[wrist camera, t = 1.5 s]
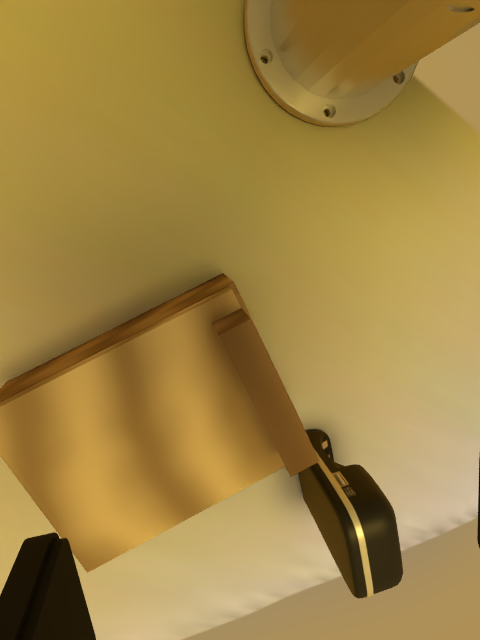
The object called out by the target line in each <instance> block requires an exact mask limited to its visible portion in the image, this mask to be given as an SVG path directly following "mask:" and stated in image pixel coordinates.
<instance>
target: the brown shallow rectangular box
mask: <svg viewBox="0 0 480 640" xmlns="http://www.w3.org/2000/svg"><path fill="white" fill-rule="evenodd" d="M227 287H230V288H231V289H232V290H233V292H234V294H235V296H236V298H237V300H238V302H239V305H240V307H241V308H242V309H243V311H244V312H245V313H246V314H247V315H248V316H249V317H250V315H249V313H248V311H247V309H246V307H245V305H244V303H243V300H242V298H241V296H240V294H239V292H238V290H237V288H236V286H235V284H234V282H233V281H231V280H230V279H229V278H228V277H227V276H226V275H224V274H221V275H219V276H217V277H215V278H213V279H211V280H209V281H207V282H205V283H203V284H201V285H199V286H197V287H195V288H193V289H191V290H189V291H187V292H185V293H183V294H181V295H179V296H177V297H175V298H173V299H171V300H169V301H167V302H165V303H163V304H161V305H159V306H157V307H155V308H153V309H151V310H149V311H147V312H145V313H143V314H141V315H139V316H137V317H136V318H134V319H132V320H130V321H128V322H126V323H124V324H122V325H120V326H118V327H116V328H114V329H112V330H110V331H108V332H106V333H104V334H102V335H100V336H98V337H96V338H94V339H92V340H90V341H88V342H86V343H84V344H82V345H80V346H78V347H76V348H74V349H72V350H70V351H68V352H66V353H64V354H62V355H60V356H58V357H56V358H54V359H52V360H50V361H48V362H46V363H44V364H42V365H40V366H38V367H36V368H34V369H32V370H30V371H28V372H26V373H24V374H22V375H20V376H18V377H16V378H14V379H12V380H10V381H8V382H7V383H5V384H4V385H3V386H2V388H1V389H0V402H1V401H3V400H5V399H7V398H9V397H11V396H13V395H15V394H17V393H19V392H21V391H23V390H25V389H27V388H29V387H31V386H33V385H35V384H37V383H39V382H41V381H43V380H45V379H47V378H49V377H51V376H53V375H55V374H57V373H59V372H61V371H63V370H65V369H67V368H69V367H71V366H73V365H75V364H76V363H78V362H80V361H82V360H84V359H86V358H88V357H90V356H92V355H94V354H96V353H98V352H100V351H102V350H104V349H106V348H108V347H110V346H112V345H114V344H116V343H118V342H120V341H122V340H124V339H126V338H128V337H130V336H132V335H134V334H136V333H138V332H140V331H142V330H144V329H146V328H148V327H150V326H152V325H154V324H156V323H157V322H159V321H161V320H163V319H165V318H167V317H169V316H171V315H173V314H175V313H177V312H179V311H181V310H183V309H185V308H187V307H189V306H191V305H193V304H195V303H197V302H199V301H201V300H203V299H205V298H207V297H209V296H211V295H213V294H215V293H217V292H219V291H221V290H223V289H225V288H227ZM250 318H251V317H250ZM251 320H252V319H251ZM252 322H253V321H252ZM253 324H254V323H253ZM254 326H255V325H254ZM255 328H256V327H255ZM256 330H257V329H256ZM260 339H261V338H260ZM261 341H262V340H261ZM262 343H263V342H262ZM263 345H264V344H263ZM264 347H265V346H264ZM265 349H266V348H265ZM266 351H267V350H266ZM267 353H268V352H267ZM268 355H269V354H268ZM269 357H270V356H269ZM270 359H271V358H270ZM274 368H275V367H274ZM275 370H276V369H275ZM276 372H277V371H276ZM277 374H278V373H277ZM278 376H279V375H278ZM279 378H280V377H279ZM280 380H281V379H280ZM281 382H282V381H281ZM282 384H283V383H282ZM283 386H284V385H283ZM284 388H285V387H284ZM288 397H289V396H288ZM289 399H290V398H289ZM290 401H291V400H290ZM291 403H292V402H291ZM292 405H293V404H292ZM293 407H294V406H293ZM294 409H295V408H294ZM295 411H296V410H295ZM296 413H297V412H296ZM297 415H298V414H297ZM298 417H299V416H298ZM303 428H304V427H303ZM304 430H305V429H304ZM305 432H306V431H305ZM306 434H307V433H306ZM307 436H308V435H307ZM308 438H309V437H308Z"/></svg>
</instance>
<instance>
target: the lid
mask: <svg viewBox="0 0 480 640" xmlns="http://www.w3.org/2000/svg"><path fill="white" fill-rule="evenodd" d="M0 456H1V457H2V459H3V460H4V461H5V463H6V464H7V465H8V467H9V468H10V469H11V471H12V472H13V473H14V475H15V476H16V477H17V479H18V480H19V482H20V483H21V484H22V486H23V487H24V488H25V490H26V491H27V492H28V494H29V495H30V496H31V498H32V499H33V500H34V502H35V503H36V504H37V506H38V507H39V508H40V510H41V511H42V512H43V514H44V515H45V516H46V518H47V519H48V520H49V522H50V523H51V524H52V526H53V527H54V528H55V530H56V531H57V532H58V534H59V535H60V536H61V538H67V539H68V541H69V544H70V547H71V551H72V553H73V554H74V555H75V557H76V558H77V559H78V561H79V562H80V563H81V565H82V566H83V567H84V569H85V570H86V571H87V572H89V571H91V570H93V569H95V568H97V567H99V566H101V565H102V564H104V563H106V562H108V561H110V560H112V559H114V558H115V557H117V556H119V555H121V554H123V553H125V552H127V551H128V550H130V549H132V548H134V547H136V546H138V545H140V544H141V543H143V542H145V541H147V540H149V539H151V538H153V537H155V536H156V535H158V534H160V533H162V532H164V531H166V530H168V529H169V528H171V527H173V526H175V525H177V524H179V523H181V522H182V521H184V520H186V519H188V518H190V517H192V516H194V515H195V514H197V513H199V512H201V511H203V510H205V509H207V508H209V507H210V506H212V505H214V504H216V503H218V502H220V501H222V500H223V499H225V498H227V497H229V496H231V495H233V494H235V493H236V492H238V491H240V490H242V489H244V488H246V487H248V486H250V485H251V484H253V483H255V482H257V481H259V480H261V479H263V478H264V477H266V476H268V475H270V474H272V473H274V472H276V471H277V470H279V469H281V468H283V467H286V469H287V471H288V473H289V475H290V477H291V476H293V475H295V474H297V473H299V472H301V471H302V470H304V469H306V468H308V467H310V466H312V465H314V464H315V463H317V462H319V459H318V457H317V454H316V452H315V450H314V448H313V446H312V444H311V442H310V440H309V438H308V436H307V434H306V432H305V430H304V428H303V425H302V423H301V421H300V419H299V417H298V415H297V413H296V411H295V409H294V407H293V405H292V403H291V401H290V399H289V397H288V394H287V392H286V390H285V388H284V386H283V384H282V382H281V380H280V378H279V376H278V374H277V372H276V370H275V368H274V365H273V363H272V361H271V359H270V357H269V355H268V353H267V351H266V349H265V347H264V345H263V343H262V341H261V339H260V336H259V334H258V332H257V330H256V328H255V326H254V324H253V322H252V320H251V318H250V317H249V316H248V315H247V314H246V313H245V312H244V311H243V309H242V308H241V307H240V305H239V302H238V300H237V298H236V296H235V294H234V292H233V290H232V289H231V288H230V287H227V288H225V289H223V290H221V291H219V292H217V293H215V294H213V295H211V296H209V297H207V298H205V299H203V300H201V301H199V302H197V303H195V304H193V305H191V306H189V307H187V308H185V309H183V310H181V311H179V312H177V313H175V314H173V315H171V316H169V317H167V318H165V319H163V320H161V321H159V322H157V323H156V324H154V325H152V326H150V327H148V328H146V329H144V330H142V331H140V332H138V333H136V334H134V335H132V336H130V337H128V338H126V339H124V340H122V341H120V342H118V343H116V344H114V345H112V346H110V347H108V348H106V349H104V350H102V351H100V352H98V353H96V354H94V355H92V356H90V357H88V358H86V359H84V360H82V361H80V362H78V363H76V364H75V365H73V366H71V367H69V368H67V369H65V370H63V371H61V372H59V373H57V374H55V375H53V376H51V377H49V378H47V379H45V380H43V381H41V382H39V383H37V384H35V385H33V386H31V387H29V388H27V389H25V390H23V391H21V392H19V393H17V394H15V395H13V396H11V397H9V398H7V399H5V400H3V401H1V402H0Z"/></svg>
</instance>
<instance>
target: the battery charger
mask: <svg viewBox="0 0 480 640" xmlns="http://www.w3.org/2000/svg"><path fill="white" fill-rule="evenodd" d="M306 433H307V435H308V437H309V440H310V442H311V444H312V446H313V448H314V450H315V452H316V454H317V457H318V459H319V462H317V463H315V464H314V465H312V466H310V467H308V468H306V469H304V470H302V471H301V472H299V478H300V483H301V487H302V492H303V497H304V500H305V502H306V504H307V506H308V508H309V510H310V512H311V514H312V516H313V518H314V520H315V522H316V524H317V526H318V528H319V530H320V532H321V534H322V536H323V538H324V540H325V542H326V544H327V546H328V548H329V550H330V552H331V554H332V556H333V558H334V560H335V562H336V564H337V566H338V568H339V570H340V572H341V574H342V576H343V578H344V580H345V582H346V584H347V586H348V587H349V589H350V591H351V592H352V594H353V595H354V596H355V597H357V598H364V597H365V598H369V597H372V596H373V594H375V593H378V592H381V591H384V590H387V589H389V588H392V587H394V586H396V585H398V583H399V582H400V581H401V578H402V575H403V568H402V559H401V551H400V543H399V537H398V530H397V524H396V518H395V513H394V510H393V508H392V506H391V504H390V502H389V501H388V499H387V498H386V496H385V495H384V493H383V492H382V491H381V489H380V488H379V486H378V485H377V484H376V482H375V481H374V480H373V478H372V477H371V476H370V475H369V473H368V472H367V471H366V470H365V469H364V468H363V467H362V466H360V465H349V466H343V465H340V464H337V463H335V462H334V459H333V453H332V448H331V443H330V439H329V437H328V435H327V434H326V433H325V432H323V431H318V430H315V431H308V432H306Z"/></svg>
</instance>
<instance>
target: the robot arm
mask: <svg viewBox="0 0 480 640" xmlns="http://www.w3.org/2000/svg"><path fill="white" fill-rule="evenodd" d="M479 22H480V0H246V3H245V9H244V33H245V38H246V44H247V49H248V54H249V56H250V59H251V62H252V65H253V68H254V70H255V72H256V74H257V76H258V78H259V79H260V81H261V83H262V85H263V87H264V88H265V89H266V90H267V92H268V93H269V94H270V95H271V97H272V98H273V99H274V100H275V101H276V102H277V103H278V104H279V105H280V106H282V107H283V108H284V109H285V110H286V111H288V112H289V113H290V114H292V115H294V116H296V117H298V118H300V119H302V120H303V121H306V122H310V123H313V124H316V125H320V126H333V127H337V126H344V125H351V124H354V123H357V122H359V121H362V120H365V119H367V118H369V117H371V116H373V115H374V114H376V113H378V112H380V111H381V110H382V109H384V108H385V107H386V106H388V105H389V104H390V103H392V102H393V101H394V99H395V98H396V97H397V96H398V95H399V94H400V93H401V92H402V90H403V89H404V88H405V86H406V85H407V83H408V81H409V80H410V78H411V77H412V75H413V73H414V71H415V68H416V66H417V63H418V61H419V60H420V59H422V58H423V57H425V56H426V55H428V54H430V53H431V52H433V51H435V50H436V49H438V48H439V47H441V46H442V45H444V44H446V43H447V42H449V41H451V40H452V39H454V38H456V37H457V36H459V35H460V34H462V33H464V32H465V31H467V30H468V29H470V28H472V27H473V26H475V25H477V24H478V23H479ZM262 57H264V58H265V59H266V60H267V63H266V64H265V63H262V61H261V58H262ZM393 78H394V79H395V82H394V80H393ZM324 110H326V111H327V112H328V117H326V116H325V114H324ZM478 544H479V547H480V459H479V500H478ZM0 640H96V637H95V633H94V629H93V626H92V622H91V619H90V615H89V611H88V608H87V604H86V601H85V597H84V594H83V590H82V586H81V583H80V579H79V576H78V572H77V569H76V565H75V561H74V558H73V554H72V551H71V547H70V544H69V541H68V539H67V538H62V539H60V538H59V536H58V534H57V533H50V534H45V535H41V536H36V537H31V538H27V539H26V540H25V541H24V542H23V544H22V546H21V549H20V551H19V553H18V556H17V558H16V560H15V563H14V565H13V567H12V570H11V572H10V574H9V577H8V579H7V581H6V584H5V586H4V588H3V591H2V593H1V595H0Z"/></svg>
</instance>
